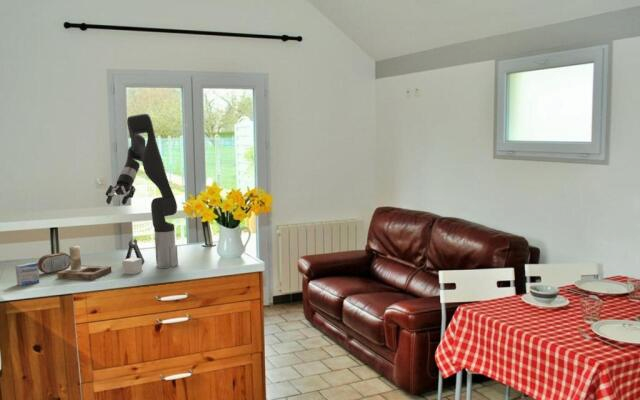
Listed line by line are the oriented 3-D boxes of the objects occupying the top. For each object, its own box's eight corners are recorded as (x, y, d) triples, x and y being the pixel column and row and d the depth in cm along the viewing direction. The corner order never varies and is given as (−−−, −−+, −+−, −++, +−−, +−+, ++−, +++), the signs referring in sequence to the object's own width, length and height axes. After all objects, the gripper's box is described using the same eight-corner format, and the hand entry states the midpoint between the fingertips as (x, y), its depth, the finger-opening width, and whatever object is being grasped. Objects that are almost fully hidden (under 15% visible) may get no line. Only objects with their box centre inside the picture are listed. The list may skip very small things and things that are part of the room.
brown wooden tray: (111, 271, 275) (111, 266, 275) (92, 280, 262) (92, 274, 261) (77, 270, 280) (77, 264, 279) (57, 278, 266) (57, 272, 266)
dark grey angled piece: (123, 265, 286) (121, 241, 285) (125, 262, 292) (124, 238, 291) (142, 264, 288) (141, 240, 286) (144, 261, 293) (143, 238, 292)
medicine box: (21, 286, 254) (19, 266, 253) (16, 284, 257) (15, 265, 256) (39, 282, 260) (38, 263, 259) (35, 280, 263) (33, 261, 262)
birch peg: (83, 267, 273) (81, 246, 272) (77, 269, 269) (75, 248, 267) (75, 266, 274) (73, 245, 273) (68, 269, 270) (67, 247, 269)
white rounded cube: (142, 271, 276) (141, 258, 275) (134, 274, 271) (133, 261, 270) (131, 270, 278) (130, 257, 277) (123, 273, 273) (122, 260, 272)
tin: (69, 267, 285) (68, 250, 284) (72, 268, 283) (71, 251, 282) (38, 274, 273) (36, 256, 272) (41, 275, 271) (39, 257, 270)
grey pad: (87, 267, 274) (87, 266, 274) (77, 271, 267) (77, 270, 267) (74, 266, 276) (74, 266, 276) (64, 270, 269) (64, 270, 269)
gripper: (111, 173, 302) (99, 198, 293) (136, 173, 299) (124, 199, 290) (118, 182, 308) (106, 207, 299) (142, 182, 305) (131, 208, 295)
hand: (115, 203), depth 294 cm, fingers open, 8 cm apart
